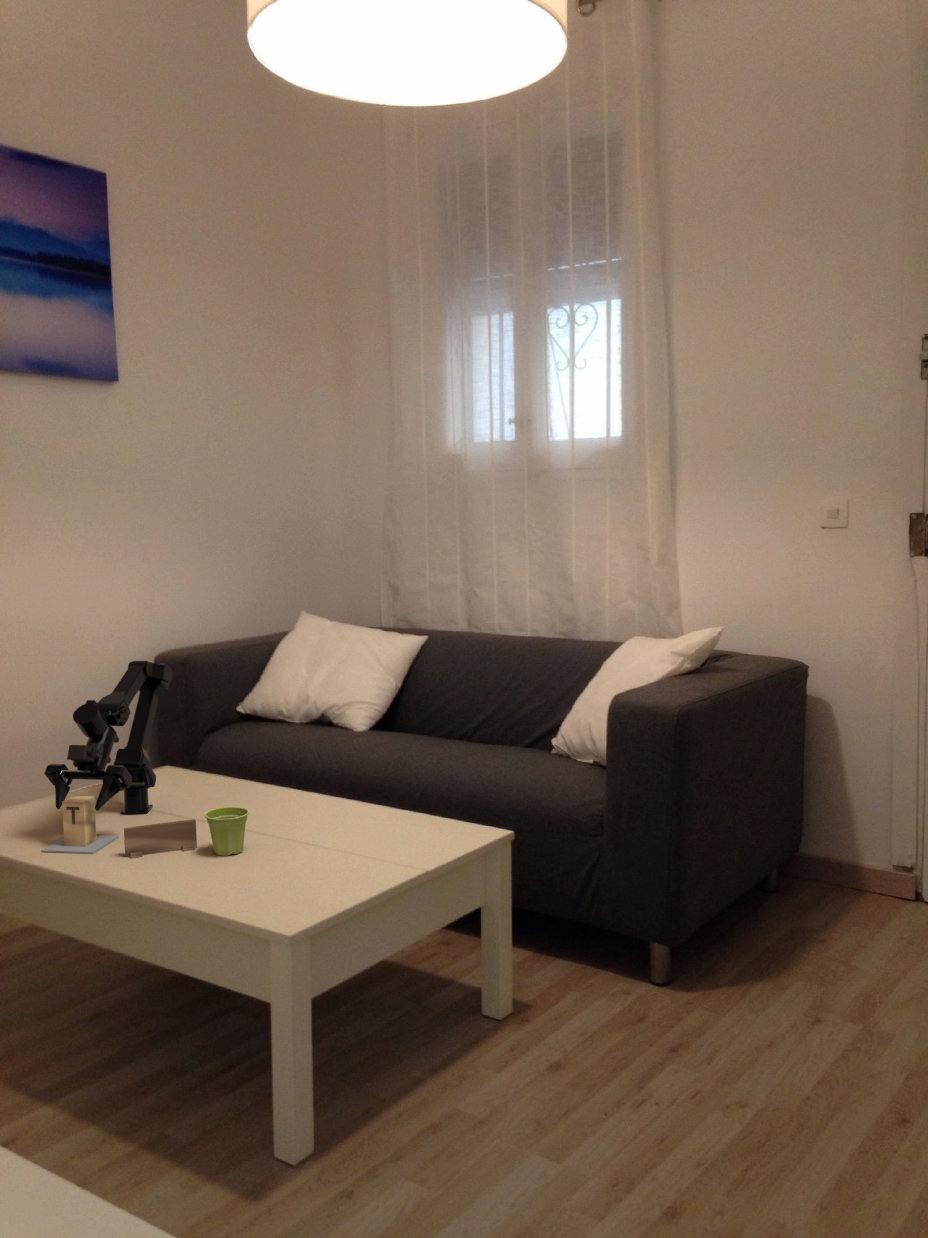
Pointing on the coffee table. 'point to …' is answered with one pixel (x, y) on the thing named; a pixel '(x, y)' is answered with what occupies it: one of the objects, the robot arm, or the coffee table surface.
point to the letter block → (79, 821)
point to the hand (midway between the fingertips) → (76, 809)
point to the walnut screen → (160, 838)
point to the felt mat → (90, 849)
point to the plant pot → (227, 829)
